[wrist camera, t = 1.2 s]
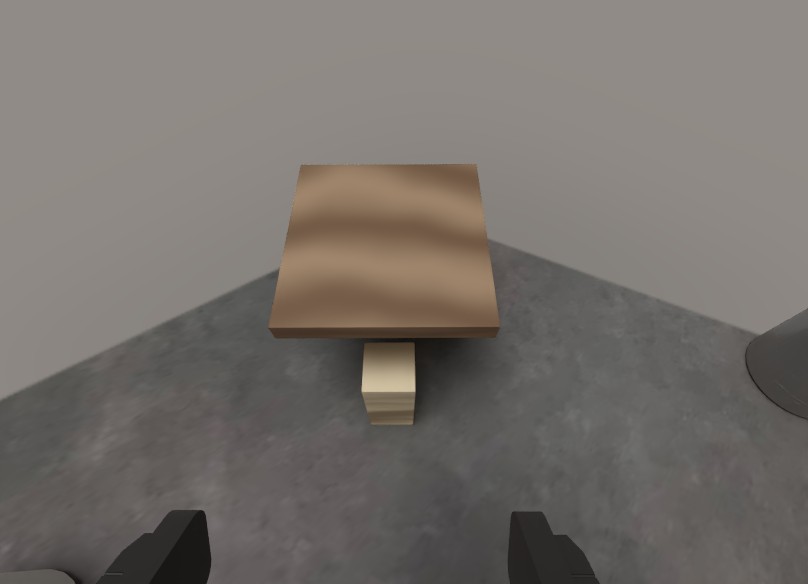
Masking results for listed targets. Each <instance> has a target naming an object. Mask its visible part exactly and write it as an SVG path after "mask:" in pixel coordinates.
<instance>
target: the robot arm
mask: <svg viewBox="0 0 808 584" xmlns="http://www.w3.org/2000/svg"><path fill="white" fill-rule="evenodd" d="M746 359H747V365H748V369H749V372H750V374H751V376H752V378H753V379H754V381H755V383H756V384H757V385H758V386H759V388H760V389H761V390H762V391H763V392H764V393H765V394H766V395H767V396H768V397H769V398H770V399H771V400H772V401H774V402H775V403H776V404H778V405H779V406H780V407H782V408H784V409H785V410H787V411H789V412H791V413H793V414H795V415H798V416H800V417H803V418H807V419H808V309H806V310H804V311H802V312H801V313H799V314H797V315H795V316H794V317H792V318H790V319H788V320H786V321H785V322H783V323H781V324H780V325H778V326H776V327H774V328H772V329H771V330H769V331H767V332H766V333H764V334H762V335H760V336H759V337H757V338H756V339H754V340H753V341H752V342H751V343H750V345H749V347H748V349H747V354H746ZM210 568H211V552H210V545H209V537H208V529H207V521H206V515H205V512H204V511H203V510H173V511H171V512H169V513H168V514H167V515H166V517H165V518H164V519H163V520H162V522H161V523H160V524H159V526H158V527H157V528H156V530H155V531H154V532H153V533H145V534H143V535H142V536H141V537H140V538H138V539H137V540H136V541H134V542H133V543H132V544H131V545H129V546H128V547H127V548H126V549H124V550H123V551H122V552H121V553H120V555H119V556H118V557H117V558H116V560H115V561H114V562H113V563H112V564H111V566H110V567H109V568H108V569H107V571H106V572H105V575H104V576H102V577H101V578H100V579H99V581H98V582H97V583H96V584H206V583H207V580H208V577H209V573H210ZM508 573H509V580H510V584H600V583H599V581H598V580H597V578H595V574H594V572H593V570H592V568H591V566H590V564H589V562H588V560H587V558H586V556H585V554H584V553H583V552H582V551H581V549H580V548H579V547H578V546H577V545H576V544H575V543H574V542H573V541H572V540H571V539H570V538H569V537H568V536H567V535H553V533H552V531H551V529H550V526H549V524H548V522H547V520H546V518H545V516H544V514H543V513H542V512H512V514H511V523H510V537H509V550H508Z"/></svg>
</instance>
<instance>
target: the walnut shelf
mask: <svg viewBox="0 0 808 584" xmlns="http://www.w3.org/2000/svg"><path fill="white" fill-rule="evenodd" d="M268 328H269V329H270V331H271V332H272V334H273V336H274V337H275V338H495V337H496V335H497V333H498V331H499V328H500V322H499V315H498V309H497V302H496V295H495V288H494V281H493V275H492V268H491V261H490V254H489V247H488V241H487V234H486V227H485V221H484V213H483V207H482V200H481V193H480V186H479V179H478V173H477V166H476V164H473V165H472V164H453V165H452V164H451V165H447V164H445V165H444V164H442V165H301V168H300V172H299V177H298V182H297V187H296V192H295V198H294V202H293V207H292V212H291V217H290V222H289V228H288V232H287V237H286V242H285V247H284V252H283V258H282V262H281V267H280V272H279V277H278V282H277V287H276V292H275V297H274V302H273V307H272V312H271V317H270V322H269V327H268Z"/></svg>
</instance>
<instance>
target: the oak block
mask: <svg viewBox="0 0 808 584" xmlns="http://www.w3.org/2000/svg"><path fill="white" fill-rule="evenodd" d="M362 395H363V398H364V402H365V405H366V409H367V412H368V416H369V419H370V422H371V425H413V418H414V404H415V343H364V358H363V376H362Z"/></svg>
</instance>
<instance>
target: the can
mask: <svg viewBox="0 0 808 584" xmlns="http://www.w3.org/2000/svg"><path fill="white" fill-rule="evenodd" d="M0 584H75V582H74V580H73V579H71V578H70V577H69V576H68V575H67V574H66V573H64V572H61V571H57V570H53V569H44V570H32V571H19V572H7V573H0Z"/></svg>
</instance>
